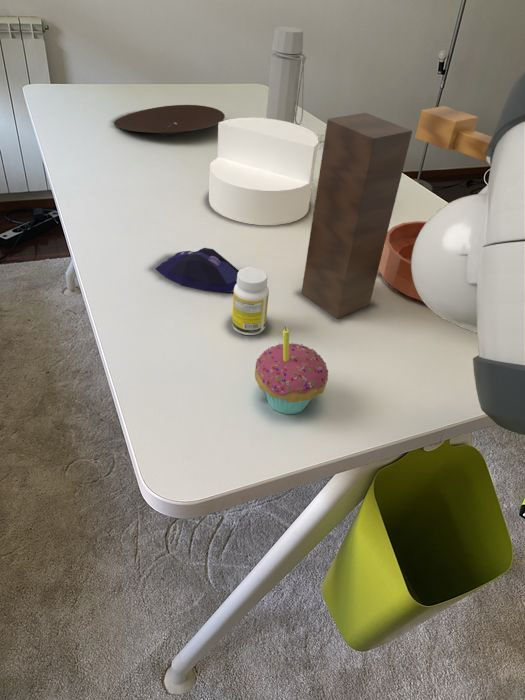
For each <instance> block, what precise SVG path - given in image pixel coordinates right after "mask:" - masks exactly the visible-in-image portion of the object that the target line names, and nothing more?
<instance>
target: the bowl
mask: <svg viewBox="0 0 525 700" xmlns="http://www.w3.org/2000/svg"><path fill="white" fill-rule="evenodd" d="M426 222H427V221H423V220H421V221H419V220H416V221H408V222H401V223H399V224H397V225H394V226H392V227H391V228H390V229H388V232H387V236H386V240H385V244H384V248H383V252H382V256H381V260H380V264H379V268H378V272H379V273H380V275H381V277H382V278H383V279H384V281H386V282H387V284H389V285H390V287H392V289H393V288H394V289H395V290H397V291H398V292H400V293H402V294H404V295H405V296H407V297H410V298H412V299H416V300H418V301H421V302H423V300H422V299H421V297H420V296H419V294H418V292H417V290H416V288H415V285H414V281H413V277H412V271H411V258H412V252H413V247H414V244H415V241H416V239H417V237H418V235H419V233H420V231H421V229H422V228H423V226H424V225H425V223H426Z"/></svg>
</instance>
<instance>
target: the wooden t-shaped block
mask: <svg viewBox="0 0 525 700" xmlns="http://www.w3.org/2000/svg"><path fill="white" fill-rule="evenodd" d="M478 120H479V116H476V115H473V114H470V113H467V112H464V111H462V110H459V109H456V108H452V107H449V106H446V105H442V106H437V107H431V108H424V109H422V110H421V112H420V116H419V120H418V124H417V128H416V131H415V136H414V138H415V139H417V140H419V141H422V142H425V143H427V144H430V145H432V146H435V147H437V148H441V149H443V150H445V151H450V150H451V151H452V150H453V151H456V152H459V153H462V154H464V155H466V156H469V157H472V158H475V159H477V160H479V161H482V162H485V163H487V164H489V163H488V162H487V160H486V157H487V156H486V155H485V151H486V149H487V146H488V144H489V142H490V141H491V139H492V137H493V136H491V135H488V134H485V133H482V132H480V131H477V130H476V126H477V122H478Z"/></svg>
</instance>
